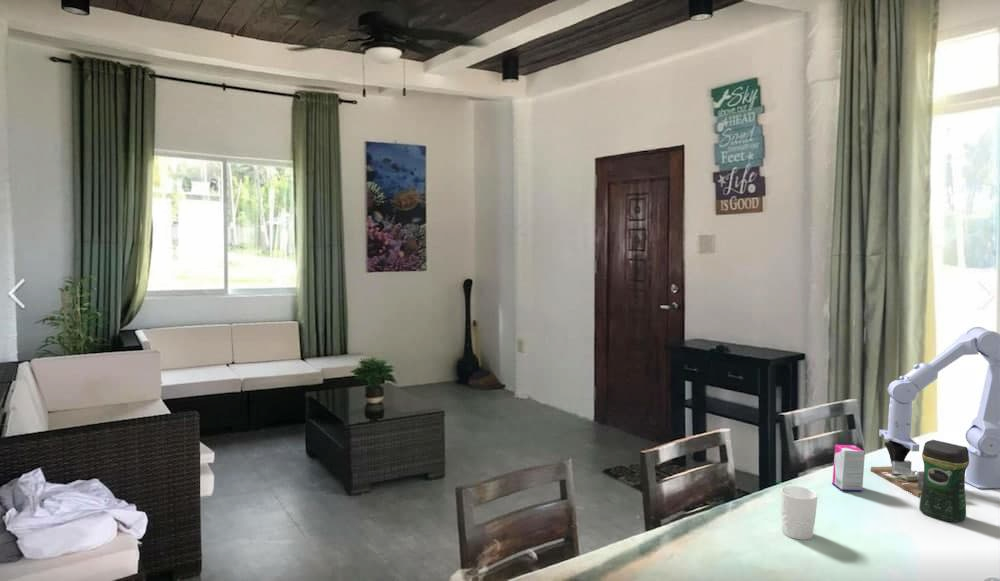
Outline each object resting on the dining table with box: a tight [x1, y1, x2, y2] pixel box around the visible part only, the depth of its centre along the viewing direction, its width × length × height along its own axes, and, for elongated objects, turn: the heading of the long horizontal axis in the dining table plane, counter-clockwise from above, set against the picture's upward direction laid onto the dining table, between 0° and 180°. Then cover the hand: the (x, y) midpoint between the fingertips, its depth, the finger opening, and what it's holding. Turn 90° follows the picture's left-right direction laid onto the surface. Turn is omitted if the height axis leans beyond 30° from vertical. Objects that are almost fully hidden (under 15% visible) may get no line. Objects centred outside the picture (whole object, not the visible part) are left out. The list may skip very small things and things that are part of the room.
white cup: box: [780, 485, 819, 541], centre depth 159 cm, size 8×8×10 cm
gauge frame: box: [870, 465, 924, 498], centre depth 191 cm, size 20×10×6 cm, turn 5°
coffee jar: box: [918, 439, 969, 522], centre depth 169 cm, size 10×8×19 cm
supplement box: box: [832, 444, 866, 493], centre depth 187 cm, size 6×6×12 cm
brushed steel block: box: [891, 459, 920, 481], centre depth 191 cm, size 8×8×4 cm
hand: (896, 467), depth 197 cm, fingers closed
